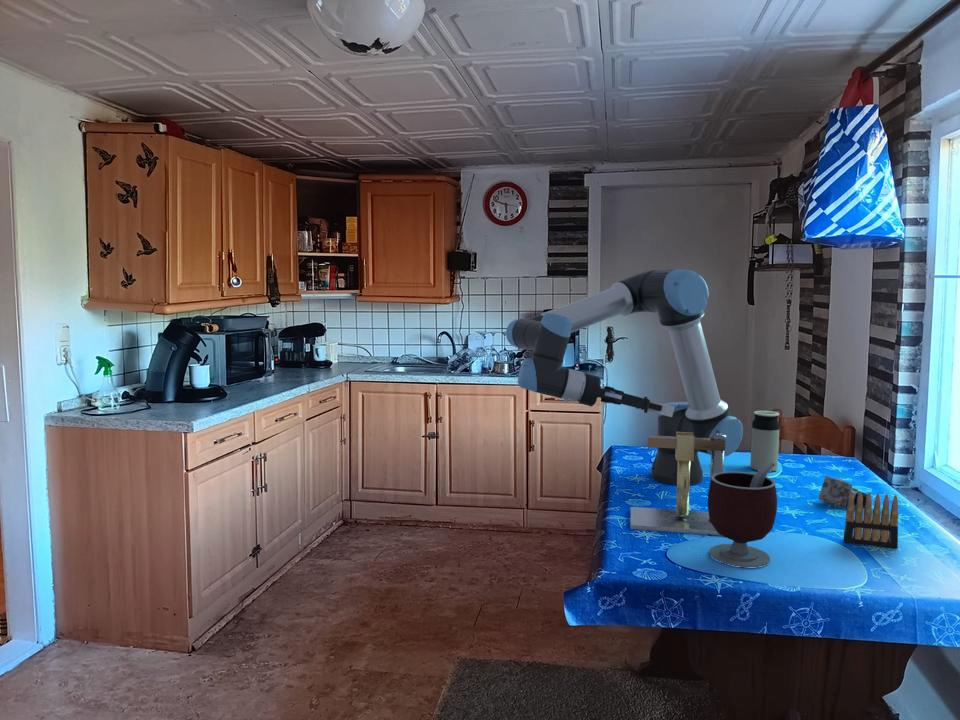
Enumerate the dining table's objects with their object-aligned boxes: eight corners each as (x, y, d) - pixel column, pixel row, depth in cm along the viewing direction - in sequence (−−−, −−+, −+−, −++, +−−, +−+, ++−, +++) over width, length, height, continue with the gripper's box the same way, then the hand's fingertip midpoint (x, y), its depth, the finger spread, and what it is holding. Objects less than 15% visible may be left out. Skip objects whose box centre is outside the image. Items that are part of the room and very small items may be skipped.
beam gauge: (630, 528, 171) (633, 436, 169) (630, 510, 185) (633, 425, 183) (745, 537, 166) (749, 442, 164) (736, 517, 180) (740, 429, 177)
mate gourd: (737, 574, 145) (742, 478, 143) (691, 550, 158) (695, 461, 156) (794, 562, 151) (799, 470, 149) (746, 540, 164) (750, 455, 162)
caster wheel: (866, 511, 193) (863, 516, 185) (822, 495, 199) (817, 499, 191) (874, 488, 192) (871, 491, 184) (830, 473, 198) (825, 475, 190)
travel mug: (781, 472, 222) (784, 415, 220) (755, 472, 222) (758, 415, 220) (771, 465, 230) (774, 410, 228) (746, 465, 230) (749, 410, 228)
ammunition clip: (895, 546, 161) (899, 494, 160) (897, 548, 159) (901, 496, 158) (843, 540, 165) (846, 489, 163) (844, 543, 163) (847, 491, 161)
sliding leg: (674, 519, 174) (677, 435, 172) (672, 512, 179) (675, 430, 177) (691, 520, 173) (694, 436, 171) (689, 513, 178) (692, 431, 176)
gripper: (571, 401, 181) (660, 424, 183) (583, 404, 168) (678, 428, 170) (578, 372, 181) (667, 395, 183) (591, 373, 168) (685, 397, 170)
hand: (672, 411), depth 177 cm, fingers closed
